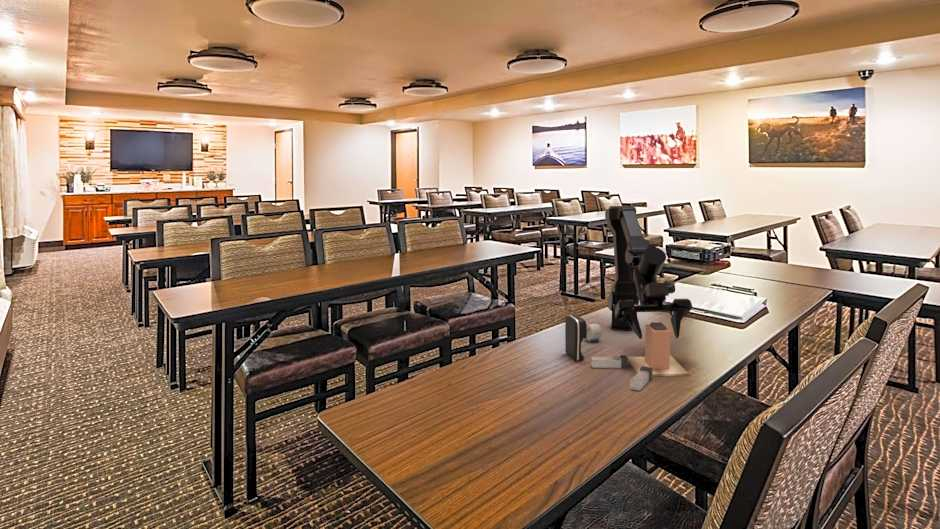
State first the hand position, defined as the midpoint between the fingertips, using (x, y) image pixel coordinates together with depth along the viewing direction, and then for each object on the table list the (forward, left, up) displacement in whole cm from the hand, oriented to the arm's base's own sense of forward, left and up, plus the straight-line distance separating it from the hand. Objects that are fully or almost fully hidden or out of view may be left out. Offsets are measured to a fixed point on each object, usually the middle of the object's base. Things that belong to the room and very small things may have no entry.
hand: (659, 338), depth 133 cm
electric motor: (-18, +19, -9) cm, 27 cm away
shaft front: (-4, -10, -8) cm, 14 cm away
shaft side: (-12, -1, -8) cm, 15 cm away
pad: (0, +1, -8) cm, 8 cm away
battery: (-21, +5, -9) cm, 23 cm away
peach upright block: (0, +1, -8) cm, 8 cm away
